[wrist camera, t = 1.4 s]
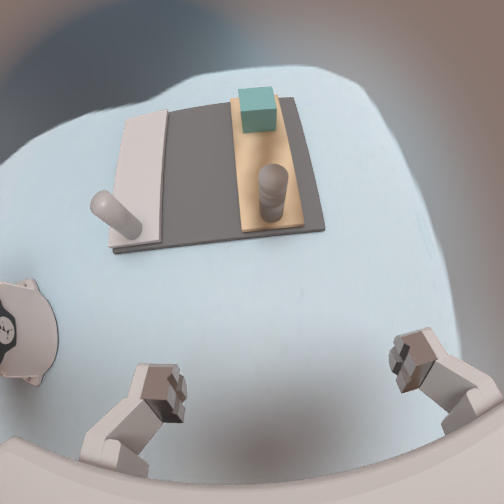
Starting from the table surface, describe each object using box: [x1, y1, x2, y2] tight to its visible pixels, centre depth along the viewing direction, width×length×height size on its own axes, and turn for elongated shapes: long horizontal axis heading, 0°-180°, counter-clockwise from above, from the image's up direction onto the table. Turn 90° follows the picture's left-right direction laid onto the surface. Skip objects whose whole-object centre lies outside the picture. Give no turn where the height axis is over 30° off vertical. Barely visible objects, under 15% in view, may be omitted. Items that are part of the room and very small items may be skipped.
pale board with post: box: [90, 109, 169, 248], centre depth 34 cm, size 8×24×10 cm, turn 6°
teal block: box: [238, 87, 277, 134], centre depth 37 cm, size 5×5×5 cm
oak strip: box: [230, 95, 304, 232], centre depth 34 cm, size 8×24×10 cm, turn 6°
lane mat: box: [113, 97, 325, 254], centre depth 40 cm, size 30×25×1 cm
